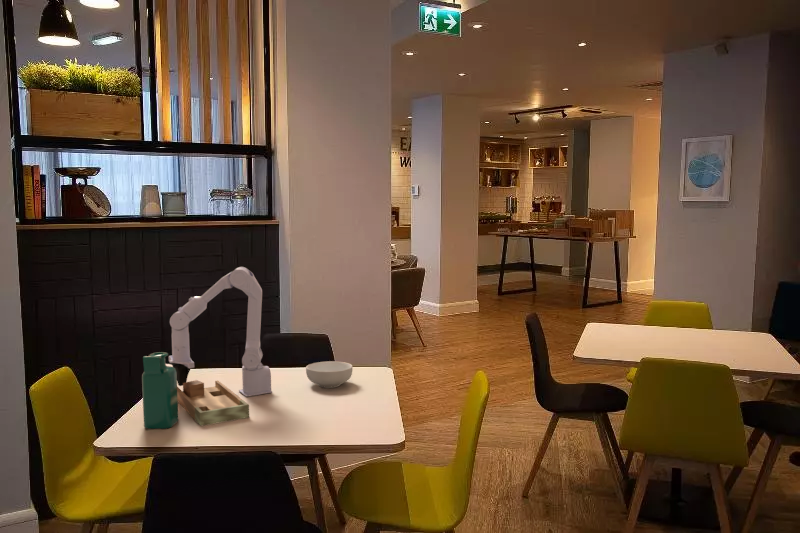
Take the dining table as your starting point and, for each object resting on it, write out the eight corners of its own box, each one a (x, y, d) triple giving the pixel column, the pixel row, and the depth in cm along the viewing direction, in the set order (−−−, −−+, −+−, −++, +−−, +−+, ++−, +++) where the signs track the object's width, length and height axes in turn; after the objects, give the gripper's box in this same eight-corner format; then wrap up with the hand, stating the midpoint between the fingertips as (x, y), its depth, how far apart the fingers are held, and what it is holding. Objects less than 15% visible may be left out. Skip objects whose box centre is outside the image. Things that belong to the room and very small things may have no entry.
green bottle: (153, 419, 204) (150, 349, 202) (180, 420, 204) (177, 349, 202) (139, 430, 194) (136, 357, 192) (168, 430, 194) (165, 357, 192)
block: (183, 394, 224) (182, 383, 223) (196, 391, 227) (196, 380, 227) (190, 397, 220) (190, 385, 220) (204, 394, 224) (203, 382, 223)
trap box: (218, 391, 234) (218, 380, 234) (249, 417, 206) (248, 404, 206) (174, 398, 226) (174, 386, 226) (200, 425, 198) (200, 412, 198)
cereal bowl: (361, 382, 245) (361, 364, 244) (333, 394, 231) (333, 374, 230) (325, 376, 254) (325, 358, 253) (296, 386, 240) (296, 367, 239)
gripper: (159, 344, 230) (161, 383, 231) (180, 351, 220) (181, 391, 221) (178, 341, 235) (180, 379, 236) (199, 348, 225) (200, 387, 226)
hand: (182, 385), depth 229 cm, fingers closed
